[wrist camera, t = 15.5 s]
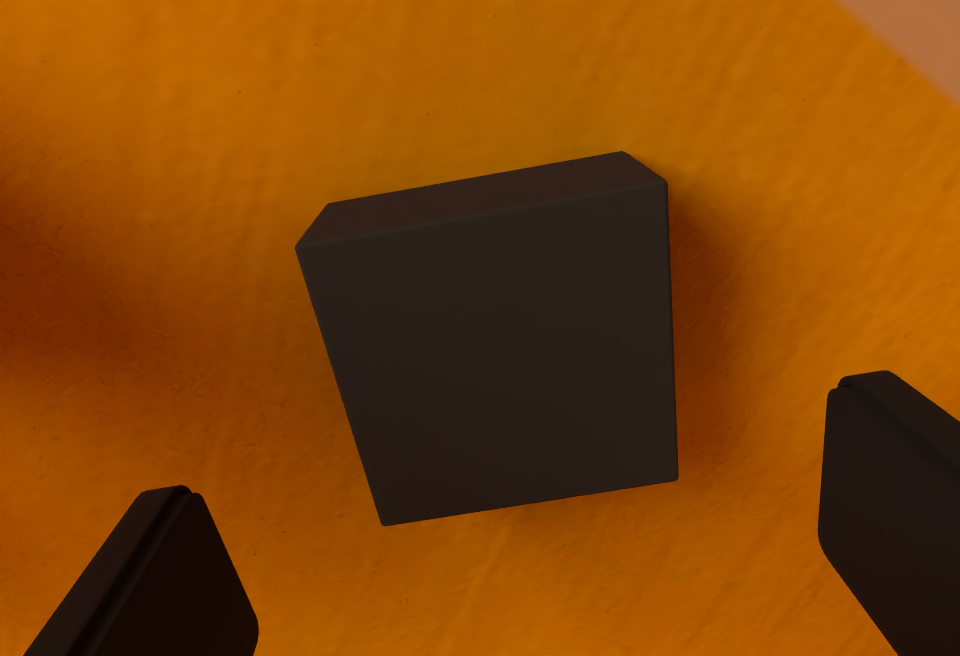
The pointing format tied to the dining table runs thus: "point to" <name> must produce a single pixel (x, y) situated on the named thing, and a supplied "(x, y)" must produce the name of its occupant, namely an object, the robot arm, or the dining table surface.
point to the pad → (502, 335)
